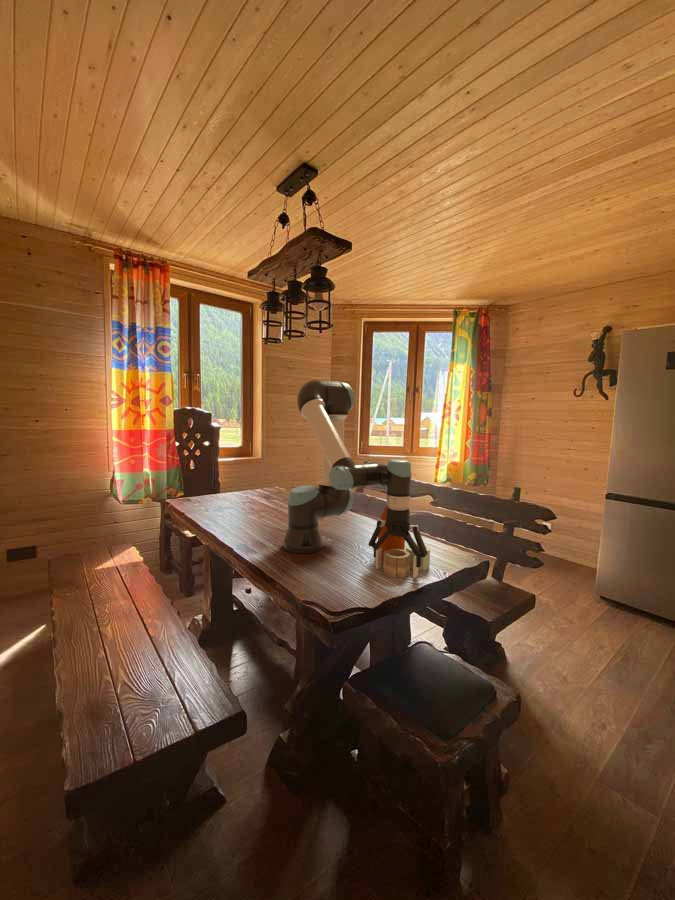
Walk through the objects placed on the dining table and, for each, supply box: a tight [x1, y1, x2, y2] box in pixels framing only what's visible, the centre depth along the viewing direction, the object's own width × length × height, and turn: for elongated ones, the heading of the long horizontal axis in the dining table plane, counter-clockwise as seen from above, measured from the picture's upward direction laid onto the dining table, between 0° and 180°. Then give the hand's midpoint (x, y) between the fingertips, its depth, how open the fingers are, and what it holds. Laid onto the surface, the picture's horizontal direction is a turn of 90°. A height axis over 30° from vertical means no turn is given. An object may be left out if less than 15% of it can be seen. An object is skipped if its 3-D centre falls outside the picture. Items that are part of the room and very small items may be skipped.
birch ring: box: [382, 549, 411, 579], centre depth 122 cm, size 8×8×6 cm
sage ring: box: [405, 543, 431, 572], centre depth 128 cm, size 8×8×6 cm
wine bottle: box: [377, 503, 406, 560], centre depth 135 cm, size 10×10×30 cm
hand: (396, 571), depth 122 cm, fingers open, 12 cm apart
